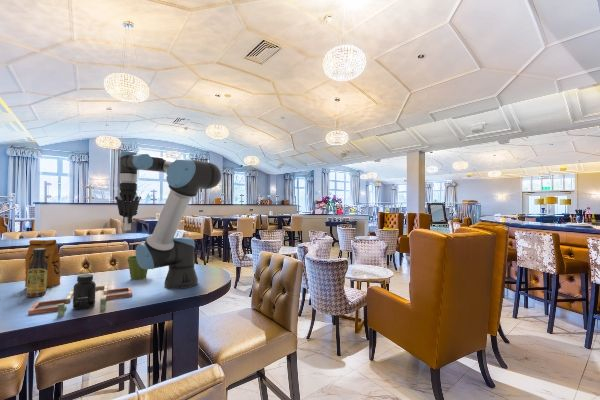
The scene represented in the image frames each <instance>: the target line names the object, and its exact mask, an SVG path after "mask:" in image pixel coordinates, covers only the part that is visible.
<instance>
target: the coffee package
mask: <svg viewBox="0 0 600 400" xmlns="http://www.w3.org/2000/svg"><path fill="white" fill-rule="evenodd" d="M28 244H29V247H28V249H27V252H26V254H25V258H24V259H25V260H24V262H25V267H24V269H25V279H24V280H25V281H24V282H25V283H24V284H25V285H24V287H25V288H27V280H28V270H29V265H30V263H31V262H32V260H33V254H34V253H33V249H37V248H45V249H46V252H45V261H46V262H47V264H48V267H47V270H48V271H47V285H46V288H47V287H48V288H53V287H55V286H57V285H60V284H61V271H62V270H61V268H62V267H61V256H60V252H59V247H58V243H57V240H56V239H46V240H43V239H42V240H41V239H30V240H29V241H28Z"/></svg>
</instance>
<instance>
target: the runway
mask: <svg viewBox="0 0 600 400" xmlns="http://www.w3.org/2000/svg"><path fill="white" fill-rule="evenodd" d="M73 289H74V288H72V289H70V292H69V293H68V294H67V296H66V298H59V299H53V300H52V299H51V300H45V301H36V302H35V303H33V305H32V306H31V307H30V308H29V309H28V316H30V315H37V314H45V313H53V312H57V317H58V318H60V317H64V316H65V312H66V311H67V308H68V307H67V304H69V303H71V301H72V300H73ZM101 290H103V295H102V297H100V302H99V303H100V305H99V306H100V307H99V310H100V311H104V310H106V309H107V308H106V307H107V306H106V304H107V301H108V300H116V299H123V298H128V297H129V298H130V297H133V289H132V286H127V287H118V288H111V289H109V284H105V285H96V290H95V291H101Z"/></svg>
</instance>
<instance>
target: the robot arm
mask: <svg viewBox="0 0 600 400" xmlns="http://www.w3.org/2000/svg"><path fill="white" fill-rule="evenodd" d="M138 171H147V172H150V171H151V172H159V173H165V174H166V178H165V179H166V181H167V184H168V188H169V190H170V191H169V194H168V196H167V198H166V201H165V202H164V205H163V208H162V211H161V213H160V215H159V217H158V221H157V222H156V224H155V228H154V230H153V232H152V234H148V236H147V237H146V239H145V241H144V242H141V243H138V244H137V245H136V248H135V256H136V259H137V262H138V264H139V266H140V267H141V268H142V269H145V270H147V269H148V270H154V269H158V268H163V267H168V271H167V273H166V277H165V279H164V288H167V289H174V290H179V289H186V288H192V287H195V286H197V285H198V283H199V279H198V275H197V272H196V269H195V249H196V246H195V240H194V238H191V237H179V236H175V235H176V233H177V231H178V228H179V227H180V223H181V221H182V220H183V217H184V215H185V213H186V210H187V208H188V206H189V205H190V201H191V199H192V198H195V197H196V196H197V195H198V193H199V191H200V189H201V190H210V189H213V188H215V187H217V186H218V185H219V183H220V182H221V181H222V180H221V179H222V172H221V169H220V168H219V167H218V166H217V165H216V164H214V163H212V162H208V161H202V160H196V159H190V158H177V159H174V158H172V157H171V158H170V157H161V156H156V155H150V154H149V153H144V152H143V153H140V152H139V153H137V152H136V151H131V150H122V151H121V152H120V154H119V182H120V183H119V189H118V190H119V191H120V192H119V194H118V195H117V196H114V199H115V200H116V201H115V202H116V205H117V209H118V215H119V216H121V217H123V219H122V221H123V222H122V223H123V224H124V227H123V228H124V229H123V231H131V230H132V224H133V217H134V216H137V213H138V209H139V205H140V201H141V200H142V196H140V195H138V193H137V189H138V184H137V182H138Z"/></svg>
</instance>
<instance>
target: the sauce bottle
mask: <svg viewBox="0 0 600 400" xmlns="http://www.w3.org/2000/svg"><path fill="white" fill-rule="evenodd" d="M45 252H46V249H45V248H37V249H33V253H34V254H33V260H32V262H31V263H30V265H29V270H28V280H27V287H26V297H28V298H36V297H37V298H38V297H41V296H44V295H45V294H46V291H47V287H46V285H47V271H48V270H47V267H48V264H47V262H46V261H45Z"/></svg>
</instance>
